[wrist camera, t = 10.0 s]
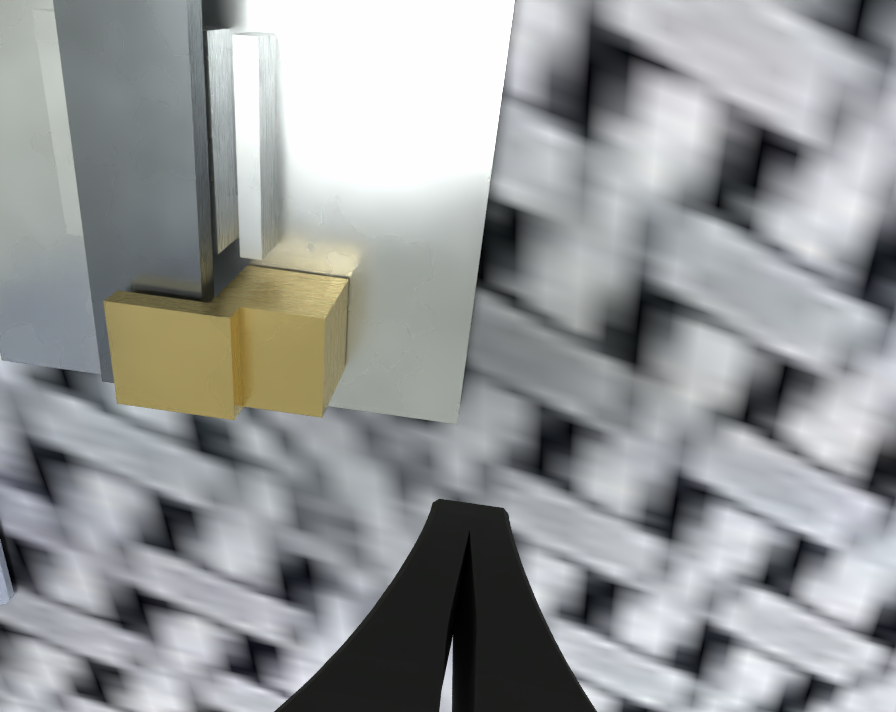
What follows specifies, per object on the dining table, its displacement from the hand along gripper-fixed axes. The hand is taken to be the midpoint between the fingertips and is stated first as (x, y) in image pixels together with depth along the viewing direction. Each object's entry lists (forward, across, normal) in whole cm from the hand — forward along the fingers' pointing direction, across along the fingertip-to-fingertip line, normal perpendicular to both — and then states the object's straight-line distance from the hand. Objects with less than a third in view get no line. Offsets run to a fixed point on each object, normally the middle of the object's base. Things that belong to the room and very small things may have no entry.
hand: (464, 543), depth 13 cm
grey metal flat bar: (+7, +9, -5) cm, 12 cm away
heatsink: (+10, +8, -4) cm, 13 cm away
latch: (+9, +7, 0) cm, 11 cm away
